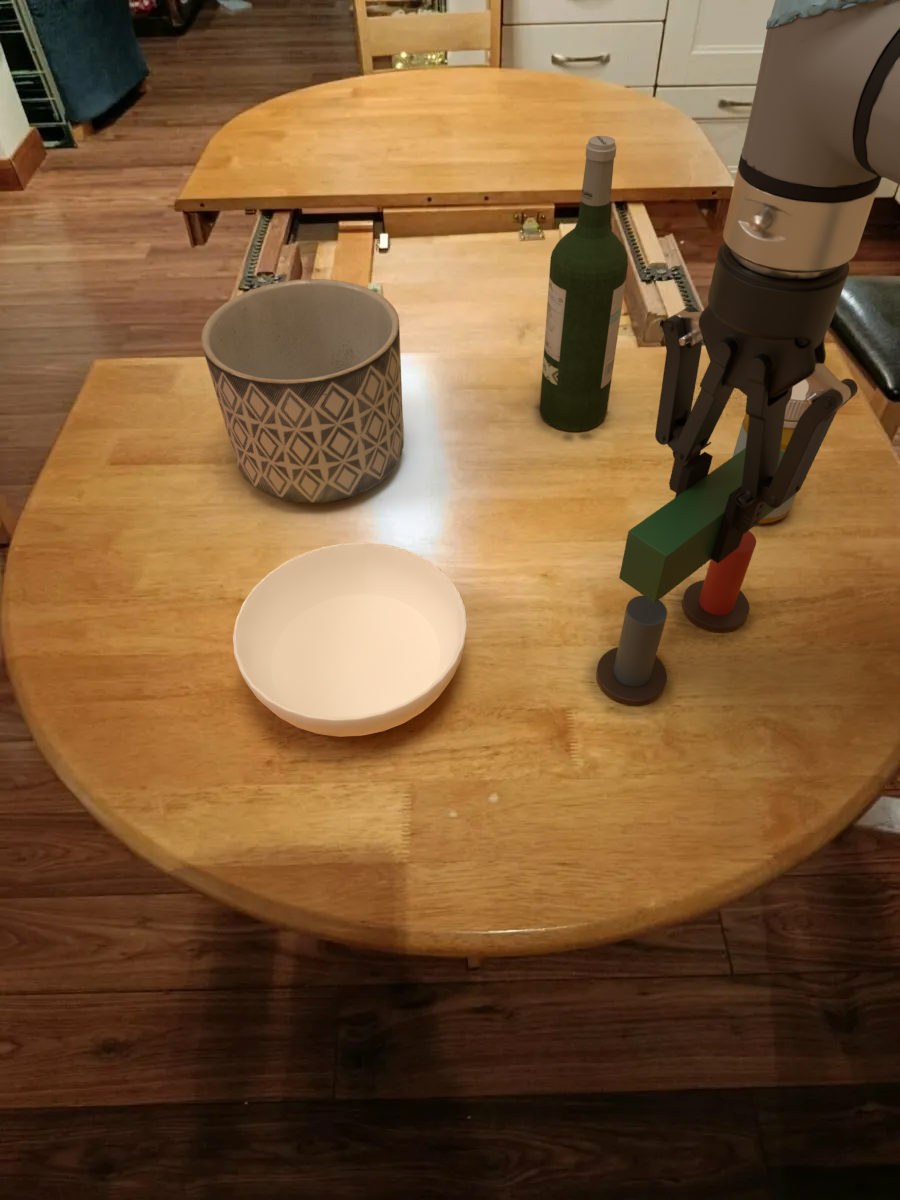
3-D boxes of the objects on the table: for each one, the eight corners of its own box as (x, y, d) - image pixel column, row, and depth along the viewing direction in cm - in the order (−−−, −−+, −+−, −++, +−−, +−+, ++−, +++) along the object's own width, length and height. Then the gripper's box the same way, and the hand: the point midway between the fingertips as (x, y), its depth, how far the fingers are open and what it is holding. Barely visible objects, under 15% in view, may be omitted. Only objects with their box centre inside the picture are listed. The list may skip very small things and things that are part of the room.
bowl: (223, 758, 69) (206, 715, 65) (271, 584, 82) (259, 538, 78) (462, 768, 68) (461, 725, 64) (471, 590, 81) (472, 544, 77)
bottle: (750, 535, 86) (793, 411, 75) (706, 495, 90) (740, 372, 79) (803, 513, 88) (852, 390, 77) (758, 475, 92) (798, 352, 81)
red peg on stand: (760, 609, 79) (787, 540, 72) (721, 643, 76) (745, 574, 70) (707, 575, 82) (729, 505, 75) (668, 606, 79) (686, 537, 73)
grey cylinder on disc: (679, 679, 74) (701, 611, 67) (635, 718, 71) (652, 651, 64) (626, 640, 77) (641, 571, 70) (581, 676, 74) (593, 608, 68)
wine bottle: (535, 395, 103) (553, 126, 80) (599, 391, 103) (635, 123, 81) (543, 434, 97) (565, 159, 75) (612, 431, 98) (654, 155, 75)
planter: (433, 488, 91) (428, 353, 79) (259, 537, 87) (224, 402, 74) (375, 394, 103) (363, 264, 91) (219, 433, 99) (184, 301, 86)
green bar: (779, 506, 70) (796, 458, 66) (654, 603, 63) (666, 556, 59) (743, 485, 72) (758, 437, 68) (618, 578, 65) (628, 530, 61)
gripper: (634, 224, 52) (592, 508, 70) (882, 328, 44) (764, 621, 61) (708, 188, 56) (650, 468, 73) (953, 279, 47) (821, 571, 65)
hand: (702, 538), depth 67 cm, fingers closed on green bar, 3 cm apart
